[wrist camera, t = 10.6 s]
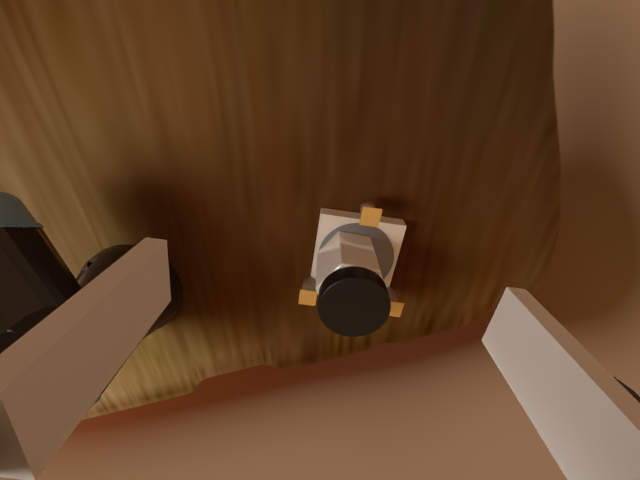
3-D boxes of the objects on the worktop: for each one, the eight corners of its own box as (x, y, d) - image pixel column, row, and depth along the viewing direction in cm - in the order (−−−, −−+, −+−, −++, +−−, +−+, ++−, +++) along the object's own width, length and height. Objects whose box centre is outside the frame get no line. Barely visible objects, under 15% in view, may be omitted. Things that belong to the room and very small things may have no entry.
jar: (312, 275, 47) (307, 330, 36) (323, 226, 44) (321, 270, 33) (370, 286, 48) (383, 343, 37) (385, 238, 44) (404, 286, 33)
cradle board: (301, 278, 51) (298, 303, 45) (314, 184, 44) (312, 199, 38) (391, 290, 51) (399, 317, 45) (417, 199, 45) (431, 216, 39)
